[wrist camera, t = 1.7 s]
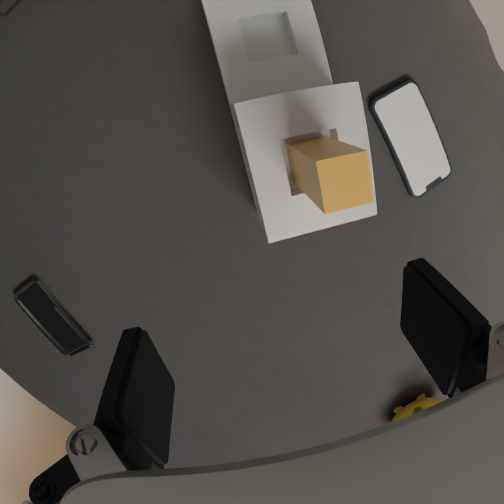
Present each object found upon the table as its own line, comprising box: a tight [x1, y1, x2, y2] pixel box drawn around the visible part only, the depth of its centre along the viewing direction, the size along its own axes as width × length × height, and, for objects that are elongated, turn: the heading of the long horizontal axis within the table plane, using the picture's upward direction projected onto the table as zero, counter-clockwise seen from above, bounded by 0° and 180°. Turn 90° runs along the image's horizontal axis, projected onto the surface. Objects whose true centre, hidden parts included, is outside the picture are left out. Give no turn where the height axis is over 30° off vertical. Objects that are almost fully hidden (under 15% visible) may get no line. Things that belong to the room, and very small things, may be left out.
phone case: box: [369, 80, 451, 198], centre depth 38 cm, size 9×2×16 cm
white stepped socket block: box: [201, 0, 377, 243], centre depth 30 cm, size 28×12×10 cm, turn 14°
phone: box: [14, 278, 93, 357], centre depth 45 cm, size 8×1×15 cm
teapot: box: [391, 393, 440, 423], centre depth 62 cm, size 20×16×14 cm
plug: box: [285, 136, 373, 214], centre depth 26 cm, size 4×4×10 cm
